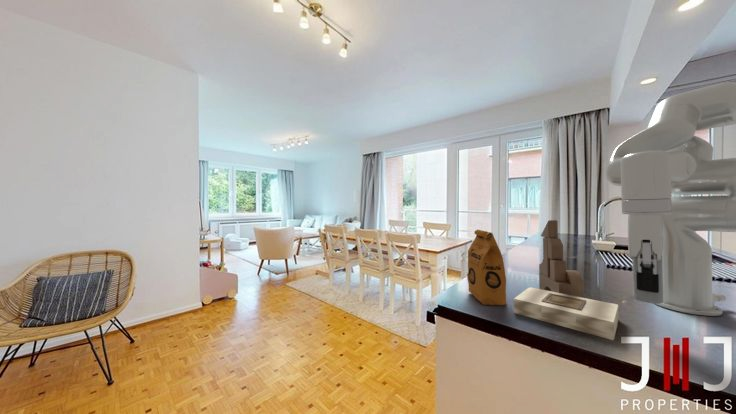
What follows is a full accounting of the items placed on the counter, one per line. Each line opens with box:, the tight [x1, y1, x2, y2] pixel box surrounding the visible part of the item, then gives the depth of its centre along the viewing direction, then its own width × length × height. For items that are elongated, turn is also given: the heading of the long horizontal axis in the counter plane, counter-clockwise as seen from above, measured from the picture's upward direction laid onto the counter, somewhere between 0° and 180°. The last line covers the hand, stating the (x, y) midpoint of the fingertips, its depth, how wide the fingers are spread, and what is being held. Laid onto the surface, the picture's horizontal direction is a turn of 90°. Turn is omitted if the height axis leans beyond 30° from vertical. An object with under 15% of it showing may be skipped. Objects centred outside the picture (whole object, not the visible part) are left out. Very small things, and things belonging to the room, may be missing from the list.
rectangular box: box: [513, 286, 620, 341], centre depth 67 cm, size 20×14×4 cm
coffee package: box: [466, 229, 507, 306], centre depth 81 cm, size 10×12×22 cm
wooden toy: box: [538, 219, 584, 298], centre depth 82 cm, size 16×7×25 cm, turn 167°
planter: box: [631, 255, 663, 305], centre depth 57 cm, size 4×4×10 cm
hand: (647, 287), depth 57 cm, fingers closed on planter, 4 cm apart
